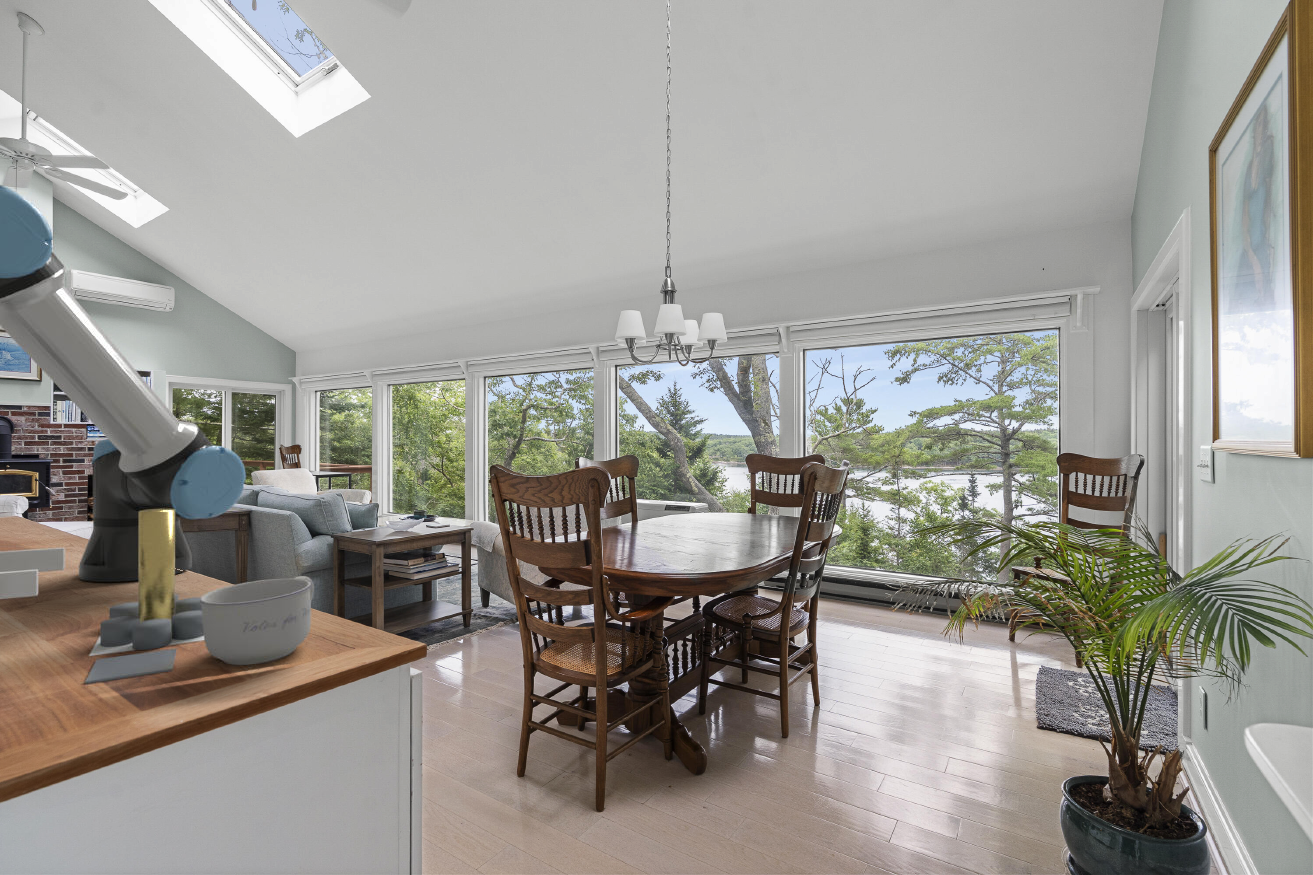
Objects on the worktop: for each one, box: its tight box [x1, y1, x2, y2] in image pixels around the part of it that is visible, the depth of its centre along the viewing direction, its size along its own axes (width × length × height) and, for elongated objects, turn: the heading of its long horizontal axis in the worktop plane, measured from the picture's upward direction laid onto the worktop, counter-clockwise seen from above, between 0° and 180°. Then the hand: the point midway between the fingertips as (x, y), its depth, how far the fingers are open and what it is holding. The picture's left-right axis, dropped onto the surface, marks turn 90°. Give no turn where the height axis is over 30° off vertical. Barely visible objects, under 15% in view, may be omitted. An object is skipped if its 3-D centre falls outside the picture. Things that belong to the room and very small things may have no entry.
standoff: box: [137, 509, 176, 622], centre depth 81 cm, size 4×4×15 cm
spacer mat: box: [88, 593, 205, 657], centre depth 82 cm, size 17×11×3 cm, turn 33°
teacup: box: [200, 575, 315, 666], centre depth 76 cm, size 14×11×8 cm
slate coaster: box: [84, 648, 178, 685], centre depth 70 cm, size 7×7×1 cm
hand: (52, 569), depth 76 cm, fingers open, 13 cm apart
